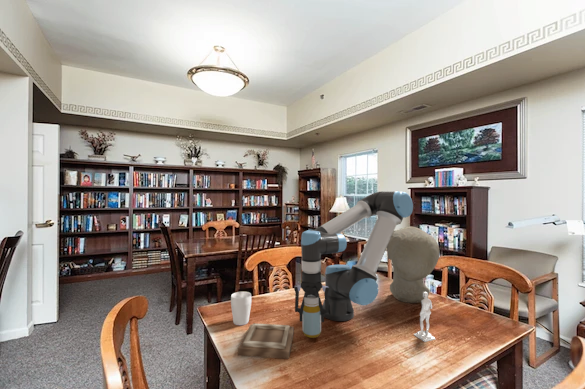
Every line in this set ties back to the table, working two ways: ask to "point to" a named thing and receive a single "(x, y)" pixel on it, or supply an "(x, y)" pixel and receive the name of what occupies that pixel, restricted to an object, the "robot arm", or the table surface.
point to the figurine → (425, 315)
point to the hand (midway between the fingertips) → (311, 329)
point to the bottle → (311, 317)
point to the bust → (411, 262)
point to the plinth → (267, 341)
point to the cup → (241, 307)
